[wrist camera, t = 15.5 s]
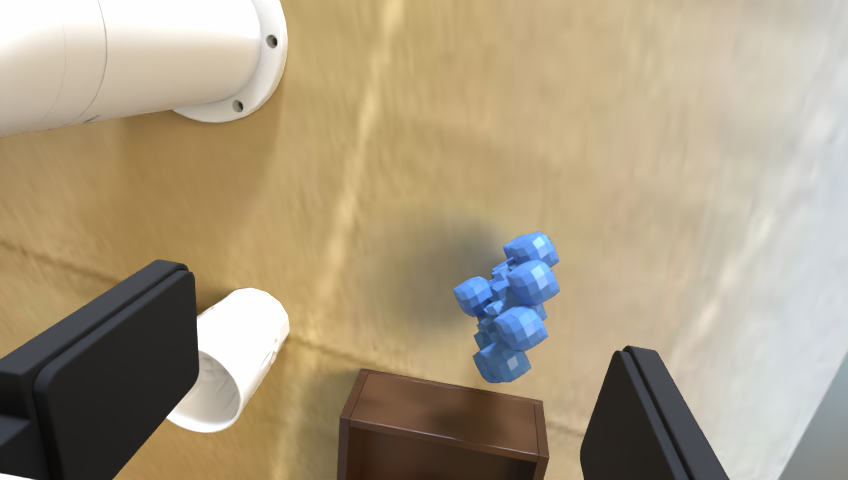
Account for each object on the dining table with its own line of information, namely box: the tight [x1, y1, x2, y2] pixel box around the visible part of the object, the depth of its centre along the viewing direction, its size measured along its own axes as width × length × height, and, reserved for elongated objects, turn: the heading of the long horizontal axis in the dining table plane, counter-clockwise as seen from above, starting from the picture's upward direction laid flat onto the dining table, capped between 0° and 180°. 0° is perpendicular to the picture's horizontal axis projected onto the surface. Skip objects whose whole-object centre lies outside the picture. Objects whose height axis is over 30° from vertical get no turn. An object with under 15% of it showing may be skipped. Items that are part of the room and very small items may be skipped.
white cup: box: [166, 288, 290, 433], centre depth 39 cm, size 8×8×10 cm
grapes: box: [453, 232, 560, 383], centre depth 33 cm, size 12×7×12 cm, turn 165°
